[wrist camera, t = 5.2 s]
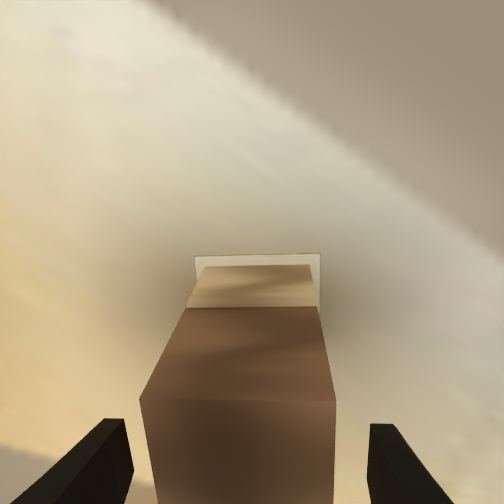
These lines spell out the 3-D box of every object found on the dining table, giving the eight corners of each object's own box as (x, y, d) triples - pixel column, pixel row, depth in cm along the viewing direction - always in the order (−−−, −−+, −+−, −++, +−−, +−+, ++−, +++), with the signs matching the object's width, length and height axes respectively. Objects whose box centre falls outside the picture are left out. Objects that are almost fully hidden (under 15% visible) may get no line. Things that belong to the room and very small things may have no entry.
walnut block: (317, 306, 14) (336, 400, 9) (316, 413, 15) (332, 541, 11) (186, 307, 14) (139, 398, 10) (198, 412, 16) (164, 534, 11)
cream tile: (319, 253, 17) (320, 254, 17) (318, 361, 19) (318, 362, 19) (194, 256, 18) (194, 256, 18) (205, 361, 20) (205, 362, 20)
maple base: (309, 264, 18) (317, 302, 14) (309, 354, 19) (316, 410, 15) (205, 266, 18) (185, 304, 14) (214, 354, 20) (198, 409, 16)
